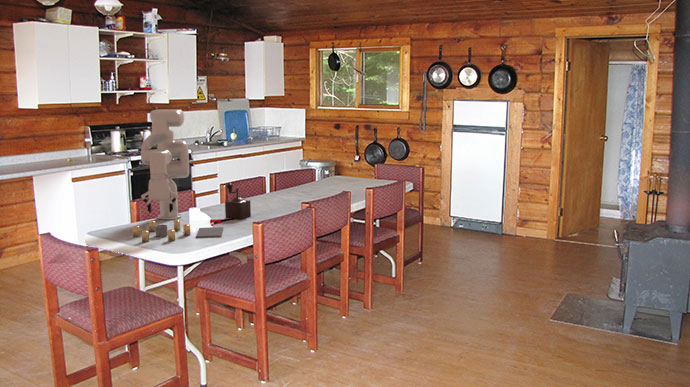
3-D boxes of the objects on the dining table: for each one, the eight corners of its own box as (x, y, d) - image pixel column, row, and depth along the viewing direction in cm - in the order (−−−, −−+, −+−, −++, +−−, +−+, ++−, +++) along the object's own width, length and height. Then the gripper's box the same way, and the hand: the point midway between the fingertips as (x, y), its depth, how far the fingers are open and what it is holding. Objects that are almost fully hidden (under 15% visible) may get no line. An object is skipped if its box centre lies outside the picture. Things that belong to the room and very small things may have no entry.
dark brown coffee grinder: (252, 216, 347) (251, 184, 344) (240, 220, 337) (239, 187, 334) (230, 213, 354) (229, 182, 351) (217, 217, 344) (216, 185, 341)
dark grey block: (157, 234, 305) (157, 224, 304) (168, 234, 306) (167, 224, 305) (155, 237, 300) (155, 227, 299) (166, 237, 300) (165, 227, 299)
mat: (199, 229, 316) (199, 227, 316) (223, 228, 317) (223, 227, 317) (196, 237, 298) (196, 236, 298) (221, 237, 300) (221, 235, 300)
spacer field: (137, 230, 313) (137, 221, 312) (192, 229, 316) (192, 219, 315) (128, 242, 289) (127, 232, 288) (187, 240, 293) (187, 230, 292)
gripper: (178, 175, 302) (179, 210, 305) (141, 176, 300) (143, 211, 303) (176, 177, 295) (177, 212, 298) (138, 178, 293) (140, 213, 295)
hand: (160, 211), depth 300 cm, fingers open, 9 cm apart
